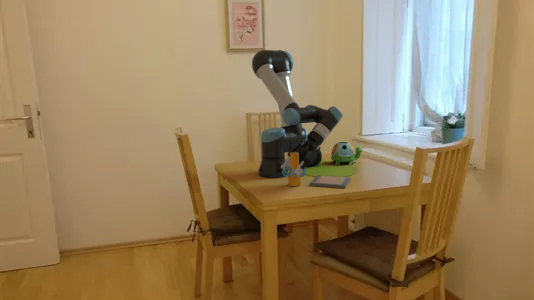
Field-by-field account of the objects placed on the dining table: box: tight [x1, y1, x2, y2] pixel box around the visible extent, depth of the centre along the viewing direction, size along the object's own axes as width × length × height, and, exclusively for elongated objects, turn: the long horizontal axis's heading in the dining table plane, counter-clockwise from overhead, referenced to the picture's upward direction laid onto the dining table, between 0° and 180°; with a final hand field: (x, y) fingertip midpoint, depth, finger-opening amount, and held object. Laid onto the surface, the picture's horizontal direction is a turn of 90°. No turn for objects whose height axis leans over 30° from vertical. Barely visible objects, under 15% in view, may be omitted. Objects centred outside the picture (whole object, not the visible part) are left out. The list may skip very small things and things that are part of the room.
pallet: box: [309, 175, 352, 189], centre depth 198 cm, size 16×16×1 cm
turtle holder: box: [330, 141, 363, 165], centre depth 242 cm, size 12×18×12 cm
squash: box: [299, 149, 323, 166], centre depth 237 cm, size 14×15×15 cm
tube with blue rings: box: [282, 152, 307, 187], centre depth 193 cm, size 12×10×15 cm
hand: (289, 171), depth 192 cm, fingers closed on tube with blue rings, 11 cm apart
